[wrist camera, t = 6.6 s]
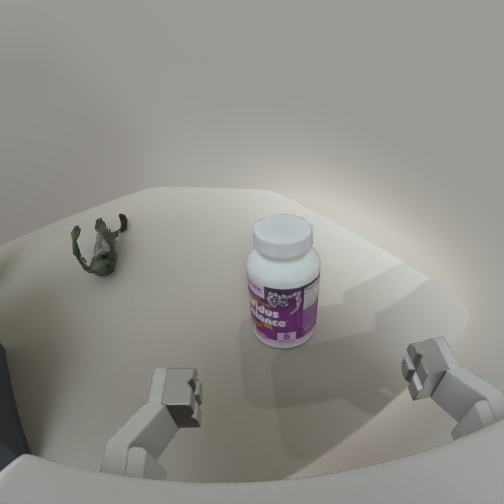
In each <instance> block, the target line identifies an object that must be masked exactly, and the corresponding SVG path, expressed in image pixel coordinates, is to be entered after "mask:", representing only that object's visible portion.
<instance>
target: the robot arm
mask: <svg viewBox="0 0 504 504" xmlns="http://www.w3.org/2000/svg"><path fill="white" fill-rule="evenodd" d="M407 352H408V354H407V355H406V356H404V358H403V361H402V373H403V376H404V379H405V380H407V381H408V382H410V383H409V386H408V389H409V391H410V394H411V397H412V399H413V400H418V399H422V398H426V397H430V396H431V398H432V399H433V400H434V401H435V402H436V403H438V404H439V405H440V406H441V407H442V408H443V409H444V410H445V411H447V413H449V414H450V415H451V416H452V417H453V418H454V419H455V420H456V421H457V422H459V424H458V425H457V426H456V427H455V428H454V429H453V431H452V433H451V434H452V437H453V440H454V441H451V442H449V443H446V444H443V445H440V446H437V447H434V448H431V449H428V450H425V451H422V452H419V453H416V454H413V455H409V456H406V457H402V458H399V459H395V460H392V461H388V462H384V463H380V464H376V465H371V466H367V467H363V468H358V469H353V470H348V471H343V472H337V473H331V474H326V475H319V476H312V477H305V478H296V479H286V480H275V481H261V482H240V483H200V482H178V481H166V471H165V470H164V469H163V468H162V467H161V466H160V465H159V464H158V463H157V462H156V460H157V458H158V457H159V456H160V454H161V453H162V452H163V450H164V449H165V447H166V446H167V445H168V443H169V442H170V441H171V439H172V438H173V436H174V435H175V434H176V432H177V431H178V430H179V428H194V427H200V426H201V410H200V408H199V406H200V405H201V403H202V386H201V382H200V380H199V379H198V378H197V374H198V373H197V370H196V368H155V370H154V373H153V378H152V383H151V388H150V393H149V398H148V404H143V405H142V406H141V407H140V408H139V410H138V411H137V412H136V413H135V414H134V415H133V416H132V417H131V418H130V419H129V420H128V421H127V422H126V423H125V424H124V425H123V426H122V427H121V428H120V429H119V430H118V431H117V432H116V433H115V434H114V435H113V436H112V437H111V439H110V440H109V441H108V442H107V443H106V448H105V453H104V458H103V463H102V468H101V472H98V471H93V470H88V469H83V468H79V467H74V466H70V465H66V464H62V463H58V462H54V461H51V460H47V459H44V458H40V457H37V456H34V455H30V454H23V455H21V456H19V457H18V458H16V459H15V460H14V461H12V462H11V463H10V464H9V465H7V466H6V467H5V468H4V469H3V470H2V471H1V472H0V504H504V396H503V394H502V392H501V391H500V390H499V389H497V388H496V387H494V386H493V385H491V384H490V383H488V382H486V381H485V380H484V379H482V378H481V377H479V376H478V375H476V374H475V373H473V372H471V371H470V370H468V369H467V368H465V367H464V366H459V364H458V362H457V360H456V358H455V357H454V355H453V353H452V351H451V349H450V347H449V345H448V344H447V342H446V340H445V338H443V337H439V338H435V339H429V340H425V341H420V342H416V343H411V344H410V345H409V346H408V348H407Z"/></svg>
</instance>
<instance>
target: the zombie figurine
mask: <svg viewBox="0 0 504 504" xmlns="http://www.w3.org/2000/svg"><path fill="white" fill-rule="evenodd" d="M119 218H120V221H121V228H120V229H119V230H117V231H115V232H110V229H109V232H108V228H107V230H106V224H105V222H104V221H102V218H100V220H99V219H97V220H96V225H95V230H96V231H98V233H97V242H96V244H95V247H94V257H93V258H92V262H91V264H90V265H91V266H87V264H86V260H85V258H83V257H81V253H80V250H79V247H78V244H77V242H76V240H77V238H78V236H79V235H80V231H81V229H80V228H79V226H75V227H74V229H73V230H72V232H71V236H72V240H73V254H74V255H75V256H76V258H77V259H78V261H79V262H80V264H81V266H82V267H83V269H84V270H85V271H87V272H88V273H94V274H95V275H98V276H103V275H106V274H108V273H110V272H112V271H113V269H114V263H115V261H116V257H117V253H116V246H115V245H116V240H115V238H116V237H118V236H119V235H118V234H119V233H121V232H123V231H124V230H126V228H127V218H126V216H125V215H123V214H119ZM105 231H106V232H105ZM103 237H104V238H103ZM103 239H105V241H106V243H107V244H108V245H109V247H107V248H102V241H103ZM84 260H85V261H84Z"/></svg>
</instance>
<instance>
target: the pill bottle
mask: <svg viewBox="0 0 504 504" xmlns="http://www.w3.org/2000/svg"><path fill="white" fill-rule="evenodd" d="M253 235H254V246H255V247H254V248H253V249H252V251H251V252H250V254H249V256H248V258H247V266H246V267H247V278H248V288H249V297H250V308H251V318H252V327H253V331H254V333H255V335H256V336H257V337H258V339H260V340H261V341H262V342H263V343H265V344H267V345H269V346H271V347H274V348H293V347H296V346H299V345H301V344H303V343H304V342H305V341H307V340H308V339H309V338H310V337H311V336H312V334H313V332H314V329H315V325H316V315H317V304H318V291H319V278H320V258H319V255H318V253H317V252H316V250H315V249H314V248H313V247H312V244H313V239H312V226H311V224H310V223H309V222H308V221H307V220H305V219H303V218H301V217H298V216H294V215H272V216H269V217H266V218H263V219H261V220H260V221H258V222H257V223H256V224H255V226H254V230H253Z"/></svg>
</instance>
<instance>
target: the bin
mask: <svg viewBox="0 0 504 504" xmlns="http://www.w3.org/2000/svg"><path fill="white" fill-rule="evenodd" d="M23 454H30V455H31V453H30V450H29V448H28V445H27V442H26V439H25V435H24V432H23V429H22V426H21V422H20V419H19V415H18V412H17V408H16V404H15V400H14V396H13V392H12V388H11V383H10V378H9V373H8V368H7V363H6V357H5V351H4V348H3V346H2V345H1V343H0V472H1V471H2V470H3V469H4V468H5V467H6V466H7V465H9V464H10V463H11V462H12V461H14V460H15V459H16V458H18V457H19V456H21V455H23Z"/></svg>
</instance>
